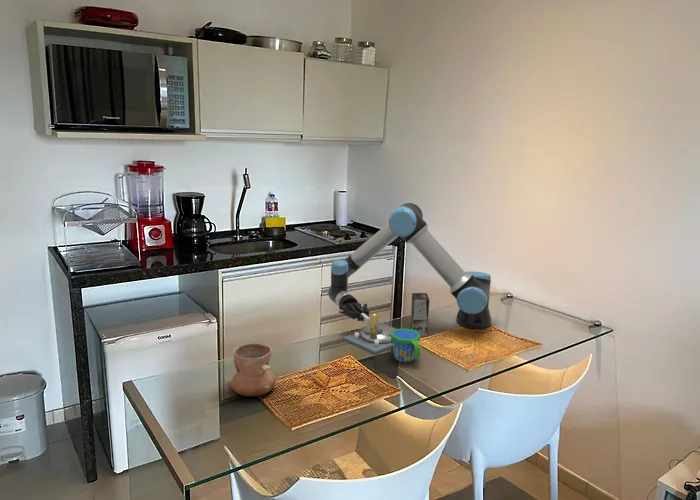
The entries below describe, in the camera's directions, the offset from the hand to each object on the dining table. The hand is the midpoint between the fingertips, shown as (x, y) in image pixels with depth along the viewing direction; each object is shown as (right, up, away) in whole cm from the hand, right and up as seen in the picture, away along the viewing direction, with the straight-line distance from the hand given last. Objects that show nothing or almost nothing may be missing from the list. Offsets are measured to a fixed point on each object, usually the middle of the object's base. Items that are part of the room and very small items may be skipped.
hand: (368, 322), depth 209 cm
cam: (+5, -7, +7) cm, 11 cm away
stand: (+5, -8, +7) cm, 12 cm away
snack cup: (+13, -13, -10) cm, 21 cm away
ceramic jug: (-39, -18, -34) cm, 55 cm away
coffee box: (+22, -7, +15) cm, 27 cm away
